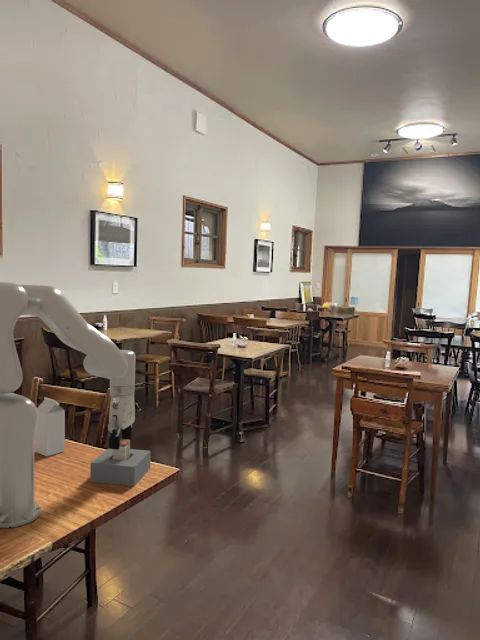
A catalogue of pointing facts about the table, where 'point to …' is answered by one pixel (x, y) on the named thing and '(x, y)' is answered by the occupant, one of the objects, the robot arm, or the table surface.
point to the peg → (122, 450)
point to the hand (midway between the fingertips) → (120, 443)
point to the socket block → (120, 468)
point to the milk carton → (50, 428)
